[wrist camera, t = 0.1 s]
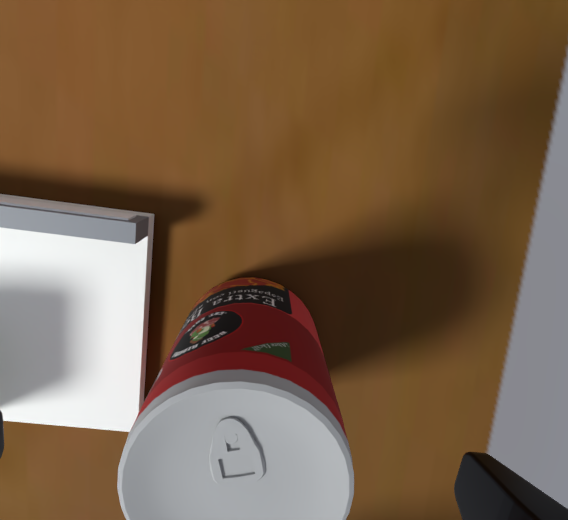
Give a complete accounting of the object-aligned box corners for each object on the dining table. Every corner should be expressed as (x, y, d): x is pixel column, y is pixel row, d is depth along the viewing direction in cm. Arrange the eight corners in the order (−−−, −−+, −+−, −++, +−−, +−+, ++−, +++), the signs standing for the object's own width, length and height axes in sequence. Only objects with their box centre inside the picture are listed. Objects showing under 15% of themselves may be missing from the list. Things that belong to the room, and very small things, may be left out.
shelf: (142, 421, 24) (125, 457, 21) (-98, 399, 23) (-151, 434, 20) (154, 212, 21) (136, 220, 18) (-125, 175, 20) (-193, 178, 17)
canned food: (284, 251, 22) (300, 342, 11) (335, 368, 24) (391, 539, 13) (161, 303, 22) (63, 439, 12) (221, 413, 24) (186, 615, 14)
